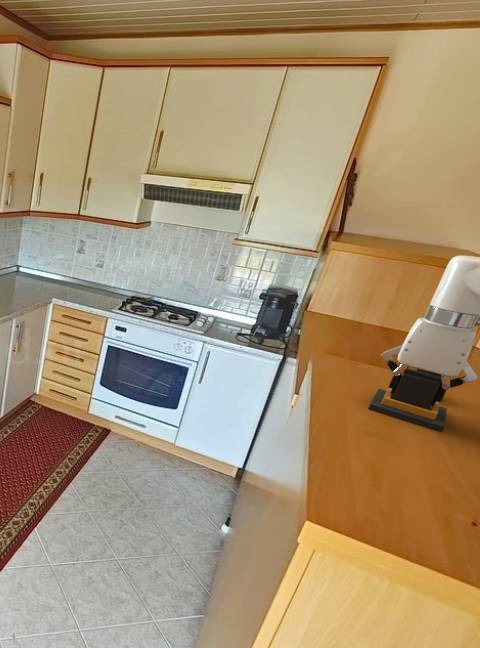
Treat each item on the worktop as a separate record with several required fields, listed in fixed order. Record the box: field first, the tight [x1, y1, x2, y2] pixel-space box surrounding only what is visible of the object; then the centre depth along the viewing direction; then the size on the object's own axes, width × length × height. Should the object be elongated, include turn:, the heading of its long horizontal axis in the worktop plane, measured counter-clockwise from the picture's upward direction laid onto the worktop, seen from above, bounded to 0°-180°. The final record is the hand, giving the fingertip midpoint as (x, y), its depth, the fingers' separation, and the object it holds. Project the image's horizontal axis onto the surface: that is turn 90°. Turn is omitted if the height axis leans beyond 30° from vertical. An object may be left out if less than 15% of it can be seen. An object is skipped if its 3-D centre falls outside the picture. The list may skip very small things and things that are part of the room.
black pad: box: [392, 367, 441, 409], centre depth 104 cm, size 6×6×6 cm
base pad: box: [368, 388, 448, 433], centre depth 106 cm, size 14×12×3 cm
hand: (412, 397), depth 105 cm, fingers closed on black pad, 6 cm apart
